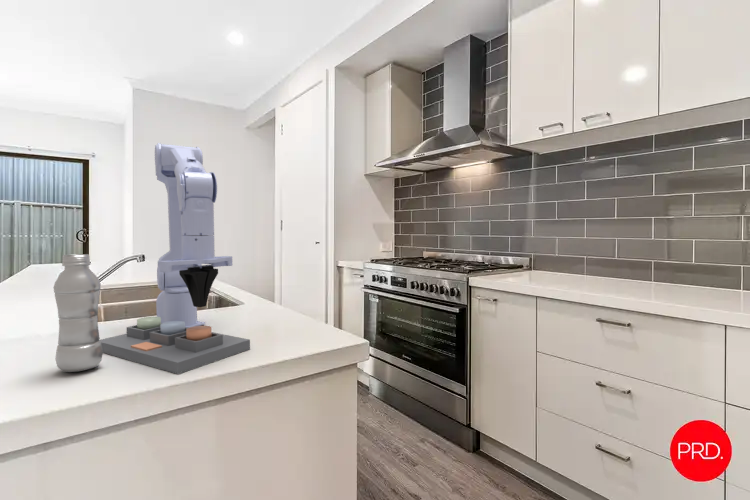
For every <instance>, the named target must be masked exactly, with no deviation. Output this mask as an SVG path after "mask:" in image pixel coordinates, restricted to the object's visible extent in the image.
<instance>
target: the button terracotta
mask: <svg viewBox="0 0 750 500" xmlns="http://www.w3.org/2000/svg"><path fill="white" fill-rule="evenodd" d="M212 332H213V331H212V326H210V325H200V326H194V327H190V328H187V329H186V337H187V339H188V340H192V341H199V340H203V339H206V338H210V337H212Z"/></svg>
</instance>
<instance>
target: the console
mask: <svg viewBox="0 0 750 500" xmlns="http://www.w3.org/2000/svg"><path fill="white" fill-rule="evenodd" d="M161 324H162V323H161ZM187 328H188V327H185V332H181V333H177V334H173V335H165V334H161V328H160V327H156V328H152V329H147V330H142V329H137V324H136V325H135V324H134V325H130V326H126V333H124V334H119V335H115V336H112V337H106V338H102V339H99V340H100V341H101V344H102V350H103V354H107V355H110V356H114V357H118V358H119V359H124V360H126V361H127V360H128V361H131V362H133V363H138V364H141V365H145V366H148V367H151V368H154V369H158V370H161V371H165V372H168V373H173V374H175V375H181V374H183V373H185V372H188V371H191V370H194V369H198V368H200V367H203V366H207V365H208V364H211V363H214V362H218V361H219V360H223V359H226V358H229V357H231V356H235V355H237V354H241V353H243V352H247V351H250V350H251V339H249V338H244V337H238V336H234V335H229V334H228V335H227V334H223V333H217V332H213V331H212V337H210V338H206V339H203V340H199V341H192V340H188V339H187V337H186V329H187Z"/></svg>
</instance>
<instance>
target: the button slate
mask: <svg viewBox="0 0 750 500" xmlns="http://www.w3.org/2000/svg"><path fill="white" fill-rule="evenodd" d="M160 328H161V334H165V335H173V334H177V333H181V332H185V322H184V321H170V322H165V323H162V324H160Z"/></svg>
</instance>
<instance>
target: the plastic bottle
mask: <svg viewBox="0 0 750 500" xmlns="http://www.w3.org/2000/svg"><path fill="white" fill-rule="evenodd" d="M90 260H91V259H90V254H88V253H85V254H83V253H79V254H78V253H74V254H73V253H72V254H70V253H69V254H63V255H62V265H61V267H64V269H63V271H62V272H61V273H60V274H59V276H58V277H57V279H55V282H54V285H53V294H54V298H55V303H56V308H57V315H58V316H57V317H58V338H57V339H58V341H57V344H58V345H57V347H56V352H55V364H56V367H57V368H58V369H59V370H60V371H61V372H64V373H77V372H82V371H87V370H91V369H94V368H96V367H98V366H99V365H100V363H101V362H102V360H103V355H104V353H103V350H102V344H101V341H100V340H101V339H100V330H99V323H98V314H99V300H100V294H101V282H100V279H99V277H98V276H97V275H96V274H95V273H94V272H93V271H92V270H91V269H90V267H89V266H90V265H91V264H92V263H91V261H90Z"/></svg>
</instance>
